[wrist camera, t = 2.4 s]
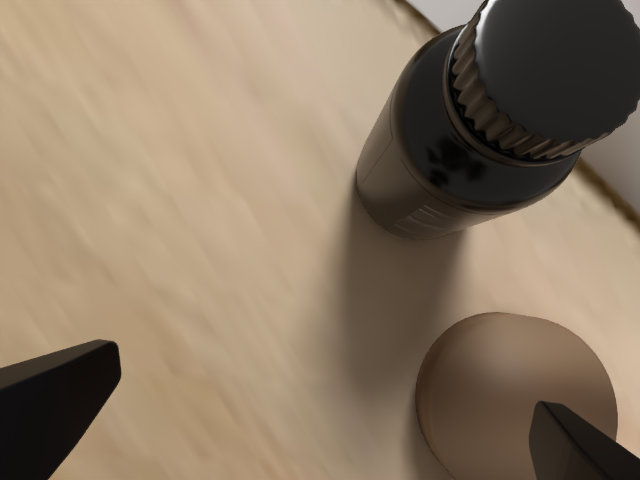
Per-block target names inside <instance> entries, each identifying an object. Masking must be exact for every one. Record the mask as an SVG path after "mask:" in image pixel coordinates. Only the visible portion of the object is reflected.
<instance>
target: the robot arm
mask: <svg viewBox="0 0 640 480" xmlns="http://www.w3.org/2000/svg"><path fill="white" fill-rule="evenodd" d="M120 378H121V365H120V356H119V348H118V345H117V344H116V343H115V342H114V341H108V340H101V339H98V340H94V341H90V342H87V343H84V344H80V345H77V346H74V347H70V348H67V349H63V350H60V351H57V352H53V353H50V354H47V355H43V356H40V357H37V358H33V359H30V360H27V361H23V362H20V363H16V364H13V365H10V366H6V367H3V368H0V480H48V479H49V478H50V477H51V475H52V474H53V473H54V472H55V471H56V469H57V468H58V467H59V466H60V464H61V463H62V462H63V461H64V460H65V458H66V457H67V456H68V455H69V453H70V452H71V451H72V450H73V448H74V447H75V446H76V444H77V443H78V442H79V440H80V439H81V438H82V436H83V435H84V433H85V432H86V430H87V429H88V428H89V426H90V425H91V423H92V422H93V420H94V419H95V417H96V416H97V414H98V413H99V411H100V410H101V409H102V407H103V406H104V404H105V403H106V401H107V400H108V398H109V397H110V395H111V394H112V392H113V391H114V390H115V388H116V387H117V385H118V383H119V381H120ZM529 449H530V454H531V458H532V462H533V466H534V470H535V474H536V479H537V480H640V459H639V458H638V457H636V456H635V455H634V454H632V453H631V452H629V451H628V450H627V449H625V448H624V447H622V446H621V445H620V444H618V443H617V442H615V441H614V440H613V439H611V438H610V437H608V436H607V435H606V434H604V433H603V432H601V431H600V430H599V429H597V428H596V427H595V426H593V425H592V424H590V423H589V422H588V421H586V420H585V419H583V418H582V417H581V416H579V415H578V414H576V413H575V412H574V411H572V410H571V409H569V408H568V407H567V406H565V405H564V404H562V403H559V402H551V401H544V400H540V401H538V402H537V403H536V405H535V408H534V413H533V418H532V422H531V427H530V432H529Z"/></svg>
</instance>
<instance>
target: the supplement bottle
mask: <svg viewBox="0 0 640 480" xmlns="http://www.w3.org/2000/svg"><path fill="white" fill-rule="evenodd" d="M639 100H640V29H639V27H638V26H637V25H636V24H635V22H634V18H633V15H632V14H631V13H630V12H629V11H627V10H626V9H625V7H624V5H623V3H622V1H621V0H485V1H484V2H483V3H482V4H481V6H480V7H479V9H478V10H477V12H476V13H475V15H474V16H473V18H472V19H471V21H469V22H468V23H467V24H465V25H460V26H458V27H455V28H452V29H449V30H447V31H445V32H443V33H441V34H439V35H437V36H436V37H434V38H432V39H431V40H430V41H428V42H427V43H426V44H425V45H423V46H422V47H421V48H420V49H419V50H418V51H417V52H416V53H415V54H414V56H413V57H412V58H411V59H410V61H409V62H408V64H407V65H406V66H405V68H404V70H403V71H402V73H401V75H400V77H399V78H398V80H397V82H396V84H395V86H394V88H393V90H392V92H391V94H390V96H389V98H388V100H387V102H386V103H385V105H384V107H383V109H382V111H381V113H380V115H379V117H378V119H377V121H376V123H375V125H374V127H373V129H372V131H371V133H370V135H369V137H368V139H367V140H366V142H365V145H364V147H363V149H362V151H361V154H360V157H359V160H358V165H357V187H358V191H359V195H360V198H361V200H362V202H363V204H364V206H365V208H366V209H367V211H368V213H369V214H370V215H371V216H372V218H373V219H374V220H375V221H376V222H377V223H379V224H380V225H381V226H382V227H384V228H385V229H387V230H388V231H390V232H392V233H394V234H396V235H399V236H402V237H405V238H410V239H432V238H437V237H440V236H444V235H447V234H450V233H453V232H456V231H459V230H462V229H465V228H468V227H471V226H474V225H477V224H480V223H483V222H486V221H489V220H492V219H495V218H498V217H500V216H503V215H506V214H509V213H512V212H515V211H518V210H521V209H523V208H525V207H528V206H530V205H532V204H534V203H536V202H538V201H540V200H542V199H543V198H545V197H546V196H548V195H549V194H551V193H552V192H553V191H554V190H555V189H556V188H558V187H559V186H560V185H561V184H562V183H563V181H564V180H565V179H566V178H567V176H568V175H569V174H570V172H571V171H572V169H573V168H574V166H575V164H576V163H577V161H578V158H579V156H580V154H581V151H582V149H584V148H585V147H586V146H588V145H590V144H592V143H594V142H596V141H598V140H600V139H603V138H605V137H607V136H608V135H610V134H611V133H612V132H613V131H614V130H615V129H616V128H618V127H619V126H621V125H623V124H624V123H625V122H626V120H627V119H628V116H629V115H630V114H631V113H633V112H634V111H635V110H636V108H637V103H638V101H639Z"/></svg>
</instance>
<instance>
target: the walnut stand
mask: <svg viewBox="0 0 640 480" xmlns="http://www.w3.org/2000/svg"><path fill="white" fill-rule="evenodd" d="M540 400H544V401H551V402H559V403H562V404H564V405H565V406H567V407H568V408H569V409H571V410H572V411H574V412H575V413H576V414H578V415H579V416H581V417H582V418H583V419H585V420H586V421H588V422H589V423H590V424H592V425H593V426H595V427H596V428H597V429H599V430H600V431H601V432H603V433H604V434H606V435H607V436H608V437H610V438H611V439H613V440H614V441H616V435H617V427H618V413H617V404H616V398H615V394H614V390H613V387H612V384H611V381H610V378H609V376H608V374H607V372H606V370H605V368H604V366H603V364H602V363H601V361H600V360H599V358H598V357H597V355H596V354H595V353H594V352H593V350H592V349H591V348H590V347H589V346H588V345H587V344H586V343H585V342H584V341H583V340H582V339H581V338H580V337H579V336H577V335H576V334H574V333H573V332H571V331H570V330H569V329H567V328H565V327H563V326H561V325H559V324H557V323H554V322H551V321H549V320H545V319H541V318H536V317H530V316H523V315H516V314H509V313H500V312H492V313H483V314H477V315H474V316H471V317H468V318H465V319H463V320H461V321H459V322H457V323H456V324H454V325H453V326H451V327H450V328H448V329H447V330H446V331H445V332H444V333H443V334H442V335H441V336H440V337H439V338H438V339H437V340H436V341H435V343H434V344H433V345H432V347H431V348H430V350H429V351H428V353H427V354H426V357H425V359H424V361H423V363H422V366H421V369H420V372H419V375H418V380H417V385H416V411H417V416H418V421H419V425H420V428H421V431H422V434H423V436H424V438H425V440H426V442H427V444H428V446H429V447H430V449H431V451H432V452H433V454H434V455H435V456H436V457H437V458H438V460H439V461H440V462H441V463H442V464H443V466H444V467H445V468H446V469H447V470H448V472H449V473H450V474H451V475H452V476H453V478H454V479H455V480H537V479H536V474H535V470H534V466H533V462H532V458H531V454H530V449H529V432H530V427H531V422H532V418H533V413H534V408H535V405H536V403H537V402H538V401H540Z"/></svg>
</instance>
